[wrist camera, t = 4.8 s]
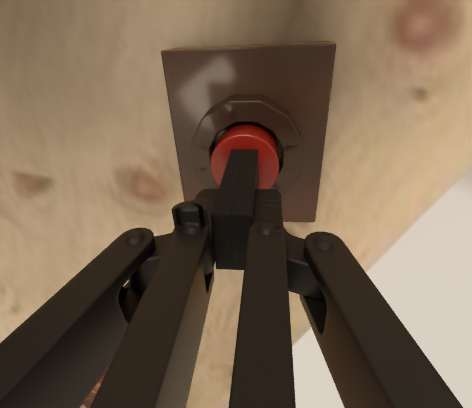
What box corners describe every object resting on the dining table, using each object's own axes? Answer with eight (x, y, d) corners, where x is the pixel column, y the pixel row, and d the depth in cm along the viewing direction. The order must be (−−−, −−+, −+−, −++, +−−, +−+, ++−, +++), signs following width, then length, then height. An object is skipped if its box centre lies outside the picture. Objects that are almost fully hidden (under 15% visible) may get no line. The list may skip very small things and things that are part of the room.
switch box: (171, 48, 19) (149, 53, 16) (329, 41, 18) (343, 45, 14) (193, 205, 25) (181, 233, 22) (311, 207, 24) (318, 237, 21)
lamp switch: (213, 123, 18) (206, 134, 16) (279, 123, 17) (280, 134, 16) (218, 182, 20) (212, 197, 18) (277, 183, 19) (278, 198, 18)
